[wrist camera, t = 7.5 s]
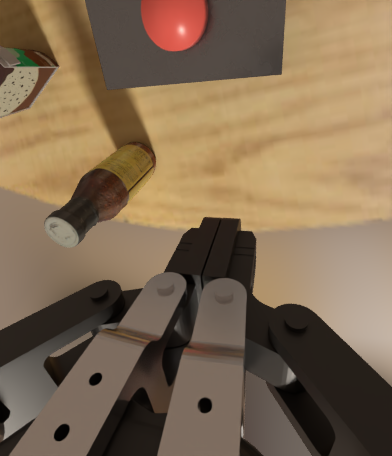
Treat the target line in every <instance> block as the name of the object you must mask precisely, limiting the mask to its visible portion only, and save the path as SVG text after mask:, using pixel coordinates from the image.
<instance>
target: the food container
mask: <svg viewBox="0 0 392 456" xmlns="http://www.w3.org/2000/svg"><path fill="white" fill-rule="evenodd" d="M58 68H59V66H58V65H57V64H56V63H55V62H54V61H53V60H52V59H51V58H49V57H48V56H46V55H45V54H44V53H41V52H38V51H34V50H26V49H15V48H5V47H2V46H0V118H2V117H5V116H8V115H11V114H14V113H17V112H20V111H23V110H26V109H29V108H31V106H32V105H33V104H34V102H35V101H36V99H37V98H38V96H39V95H40V94H41V92H42V91H43V89H44V88H45V86H46V85H47V84H48V82H49V81H50V79H51V78H52V76H53V75H54V74H55V72H56V71H57V69H58Z"/></svg>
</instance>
